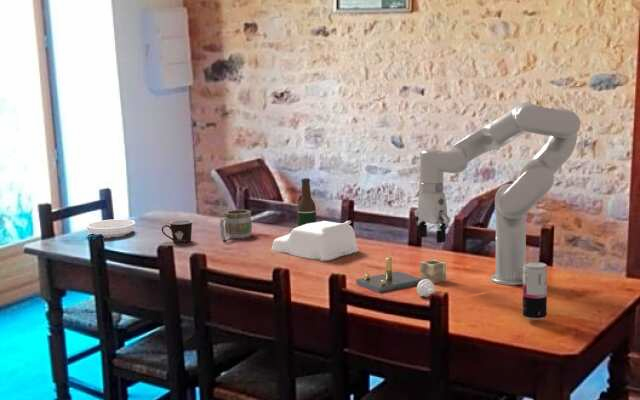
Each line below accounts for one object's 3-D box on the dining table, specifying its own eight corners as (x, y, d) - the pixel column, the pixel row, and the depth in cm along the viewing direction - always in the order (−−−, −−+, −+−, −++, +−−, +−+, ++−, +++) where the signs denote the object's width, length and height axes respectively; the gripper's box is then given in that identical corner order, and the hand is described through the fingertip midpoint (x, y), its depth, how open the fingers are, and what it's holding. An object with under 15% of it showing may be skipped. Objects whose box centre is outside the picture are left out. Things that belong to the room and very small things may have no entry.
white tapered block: (327, 265, 323) (326, 228, 321) (268, 254, 343) (267, 219, 341) (361, 255, 337) (361, 219, 335) (303, 245, 357) (302, 211, 355)
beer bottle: (303, 239, 366) (301, 180, 361) (294, 236, 372) (292, 178, 368) (320, 237, 369) (318, 178, 365) (311, 234, 376) (309, 176, 372)
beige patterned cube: (446, 280, 297) (445, 262, 296) (431, 283, 294) (431, 265, 293) (434, 277, 302) (434, 259, 301) (420, 279, 299) (419, 262, 298)
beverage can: (521, 318, 254) (521, 266, 252) (524, 312, 260) (524, 261, 258) (544, 320, 252) (545, 268, 249) (547, 313, 258) (548, 262, 255)
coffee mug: (198, 245, 361) (196, 220, 359) (183, 250, 354) (182, 225, 352) (175, 242, 367) (174, 218, 365) (161, 247, 360) (159, 222, 358)
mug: (237, 237, 375) (236, 208, 372) (258, 239, 368) (256, 210, 366) (211, 244, 362) (210, 215, 360) (232, 247, 356) (230, 217, 354)
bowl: (130, 245, 366) (129, 227, 365) (82, 246, 367) (81, 229, 365) (140, 235, 385) (139, 218, 384) (94, 236, 386) (93, 219, 385)
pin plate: (422, 283, 294) (422, 258, 292) (379, 292, 285) (378, 266, 284) (398, 275, 305) (398, 250, 303) (356, 284, 296) (355, 258, 295)
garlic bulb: (425, 301, 274) (425, 283, 273) (415, 296, 280) (415, 279, 279) (441, 298, 277) (440, 281, 276) (430, 294, 282) (430, 277, 281)
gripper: (458, 190, 287) (457, 242, 290) (424, 183, 302) (424, 233, 305) (439, 192, 283) (439, 246, 286) (406, 185, 298) (406, 236, 301)
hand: (431, 239), depth 295 cm, fingers open, 9 cm apart
